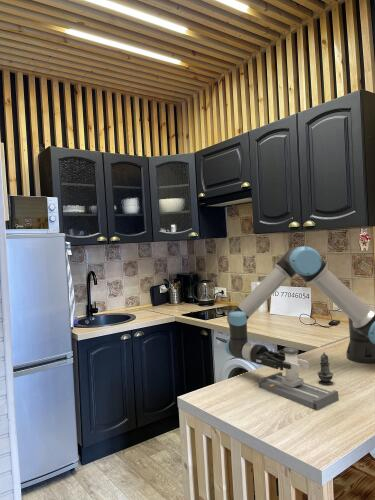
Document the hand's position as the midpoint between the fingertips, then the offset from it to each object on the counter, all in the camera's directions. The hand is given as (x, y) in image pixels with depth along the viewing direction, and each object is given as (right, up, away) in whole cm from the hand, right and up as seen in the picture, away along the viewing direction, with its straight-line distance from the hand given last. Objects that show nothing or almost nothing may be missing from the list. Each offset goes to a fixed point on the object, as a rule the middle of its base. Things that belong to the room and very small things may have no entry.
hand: (303, 366), depth 129 cm
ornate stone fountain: (+12, -10, +11) cm, 19 cm away
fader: (-3, -7, +4) cm, 9 cm away
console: (-2, -11, +3) cm, 11 cm away
